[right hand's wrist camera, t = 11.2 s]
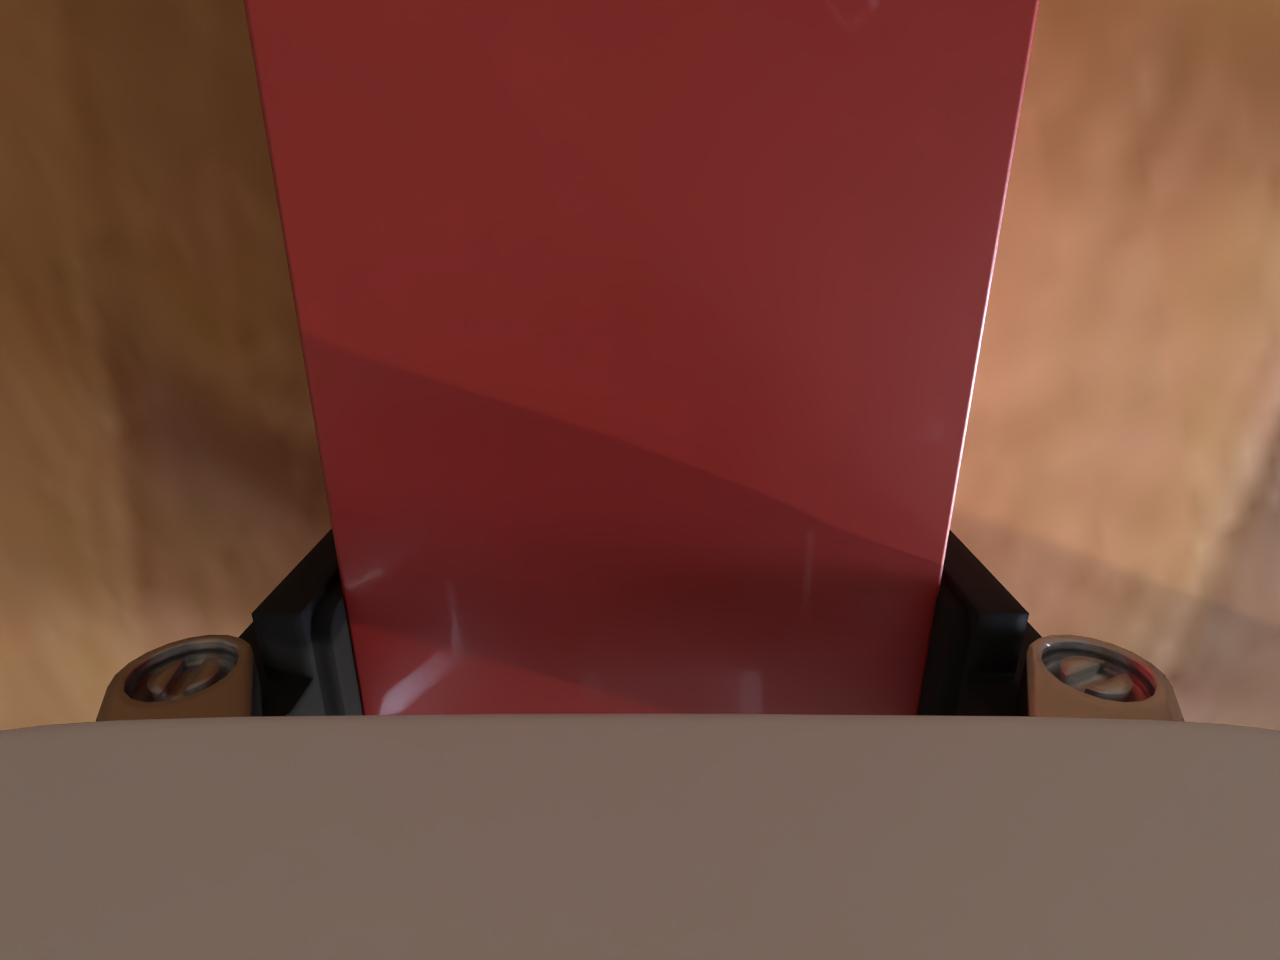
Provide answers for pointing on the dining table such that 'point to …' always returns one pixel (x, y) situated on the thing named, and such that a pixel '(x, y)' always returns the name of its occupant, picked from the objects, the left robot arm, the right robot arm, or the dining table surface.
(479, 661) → the cabinet
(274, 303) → the dining table surface
